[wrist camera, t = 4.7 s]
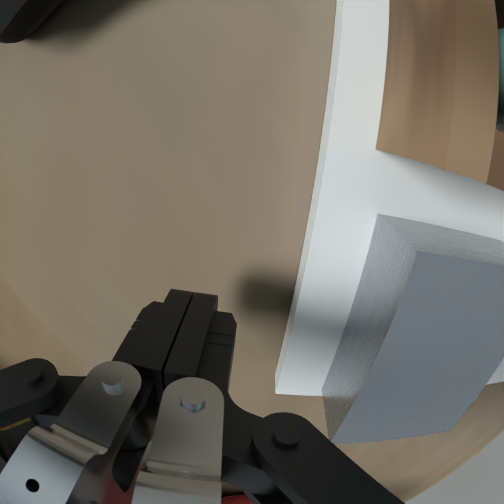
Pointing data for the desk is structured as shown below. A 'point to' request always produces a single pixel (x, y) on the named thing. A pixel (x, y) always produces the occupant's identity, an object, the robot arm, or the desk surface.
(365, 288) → the grey rectangular brick
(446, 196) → the board
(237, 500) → the plant pot
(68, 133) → the desk surface
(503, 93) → the dowel
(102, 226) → the desk surface
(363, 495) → the robot arm
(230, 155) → the desk surface
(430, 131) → the socket
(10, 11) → the black sponge
